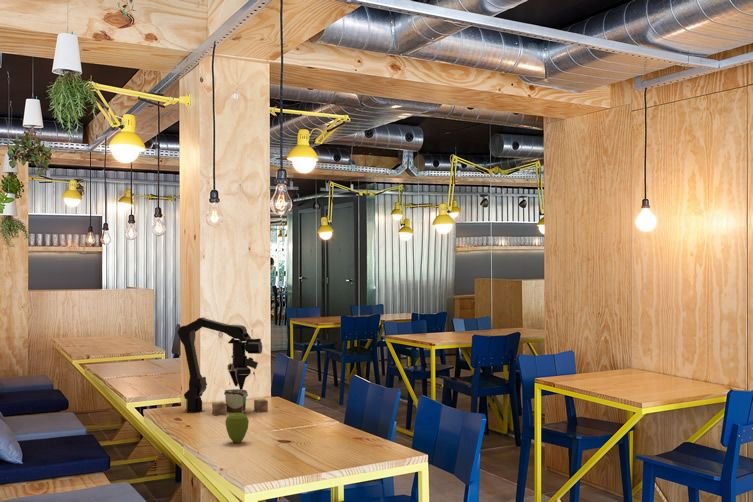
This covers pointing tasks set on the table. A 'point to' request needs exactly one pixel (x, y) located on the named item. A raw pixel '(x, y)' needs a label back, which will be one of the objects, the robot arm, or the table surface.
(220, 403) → the dotted block left
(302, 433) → the table surface
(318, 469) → the table surface
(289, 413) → the table surface
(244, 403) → the food container
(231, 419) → the green tapered egg
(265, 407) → the dotted block right
